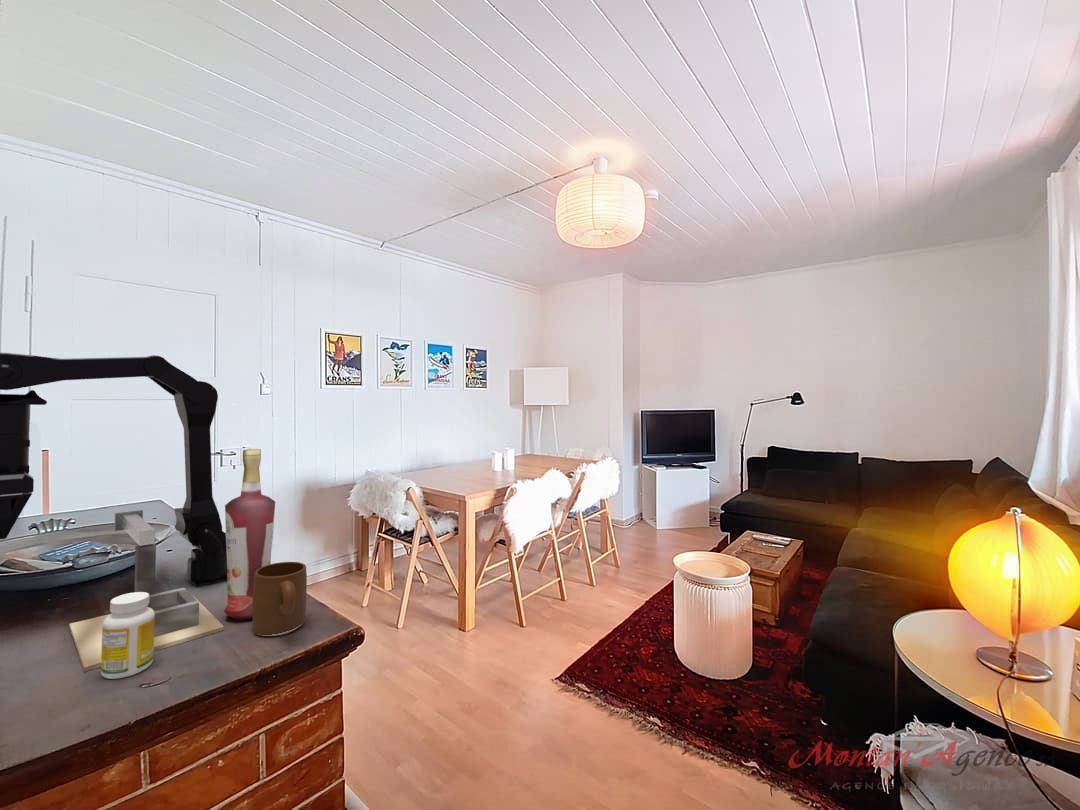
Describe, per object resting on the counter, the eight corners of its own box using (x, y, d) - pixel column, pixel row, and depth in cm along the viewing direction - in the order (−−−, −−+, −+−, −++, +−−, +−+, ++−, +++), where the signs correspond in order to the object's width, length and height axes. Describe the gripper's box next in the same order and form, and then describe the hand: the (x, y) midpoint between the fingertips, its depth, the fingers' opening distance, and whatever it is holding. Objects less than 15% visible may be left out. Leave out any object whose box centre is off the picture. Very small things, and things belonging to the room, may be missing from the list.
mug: (316, 641, 73) (318, 579, 73) (259, 656, 68) (261, 590, 68) (300, 612, 82) (301, 558, 82) (249, 624, 78) (250, 566, 78)
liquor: (279, 614, 81) (283, 450, 81) (229, 628, 76) (233, 453, 76) (264, 601, 86) (268, 447, 86) (217, 613, 81) (220, 449, 81)
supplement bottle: (104, 685, 60) (106, 609, 60) (97, 669, 64) (99, 597, 64) (158, 667, 65) (159, 597, 64) (148, 653, 68) (150, 586, 68)
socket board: (192, 597, 87) (193, 536, 87) (223, 630, 75) (225, 559, 75) (69, 627, 75) (71, 555, 75) (84, 671, 63) (86, 586, 63)
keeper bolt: (141, 526, 93) (142, 509, 93) (161, 544, 82) (162, 526, 82) (114, 530, 90) (114, 513, 90) (131, 549, 79) (132, 530, 79)
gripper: (-76, 431, 75) (-79, 531, 75) (-90, 439, 62) (-92, 558, 62) (28, 429, 83) (26, 519, 83) (34, 436, 71) (32, 541, 71)
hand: (0, 533), depth 75 cm, fingers open, 9 cm apart
